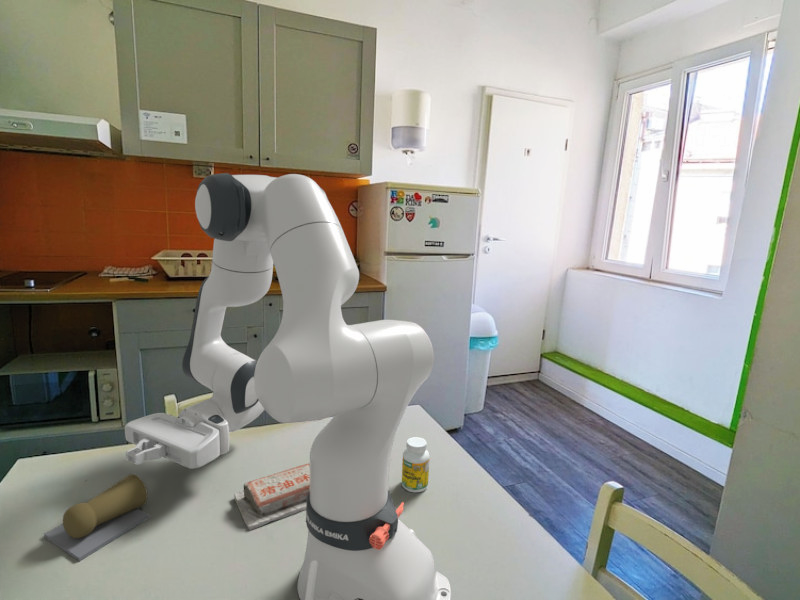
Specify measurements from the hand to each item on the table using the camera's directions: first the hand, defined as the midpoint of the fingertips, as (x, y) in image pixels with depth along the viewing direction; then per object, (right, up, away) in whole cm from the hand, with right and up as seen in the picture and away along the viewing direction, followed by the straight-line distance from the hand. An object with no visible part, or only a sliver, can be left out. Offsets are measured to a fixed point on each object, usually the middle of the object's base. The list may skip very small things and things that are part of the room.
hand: (130, 458), depth 76 cm
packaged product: (+26, -10, +6) cm, 29 cm away
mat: (-3, -10, -4) cm, 11 cm away
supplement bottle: (+50, -10, +12) cm, 53 cm away
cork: (0, -6, +2) cm, 7 cm away
